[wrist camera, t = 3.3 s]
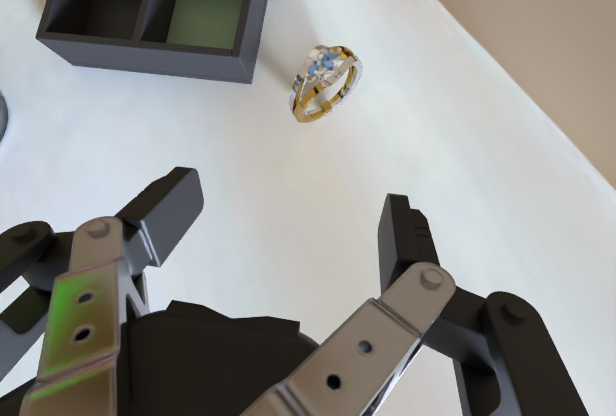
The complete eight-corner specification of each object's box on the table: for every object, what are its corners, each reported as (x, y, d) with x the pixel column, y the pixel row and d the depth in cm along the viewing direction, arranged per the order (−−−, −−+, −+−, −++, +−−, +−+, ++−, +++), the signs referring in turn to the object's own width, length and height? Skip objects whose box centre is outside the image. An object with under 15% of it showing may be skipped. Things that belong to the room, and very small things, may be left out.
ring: (304, 142, 28) (295, 100, 20) (288, 116, 28) (272, 65, 21) (365, 105, 28) (379, 49, 20) (347, 80, 29) (355, 16, 21)
